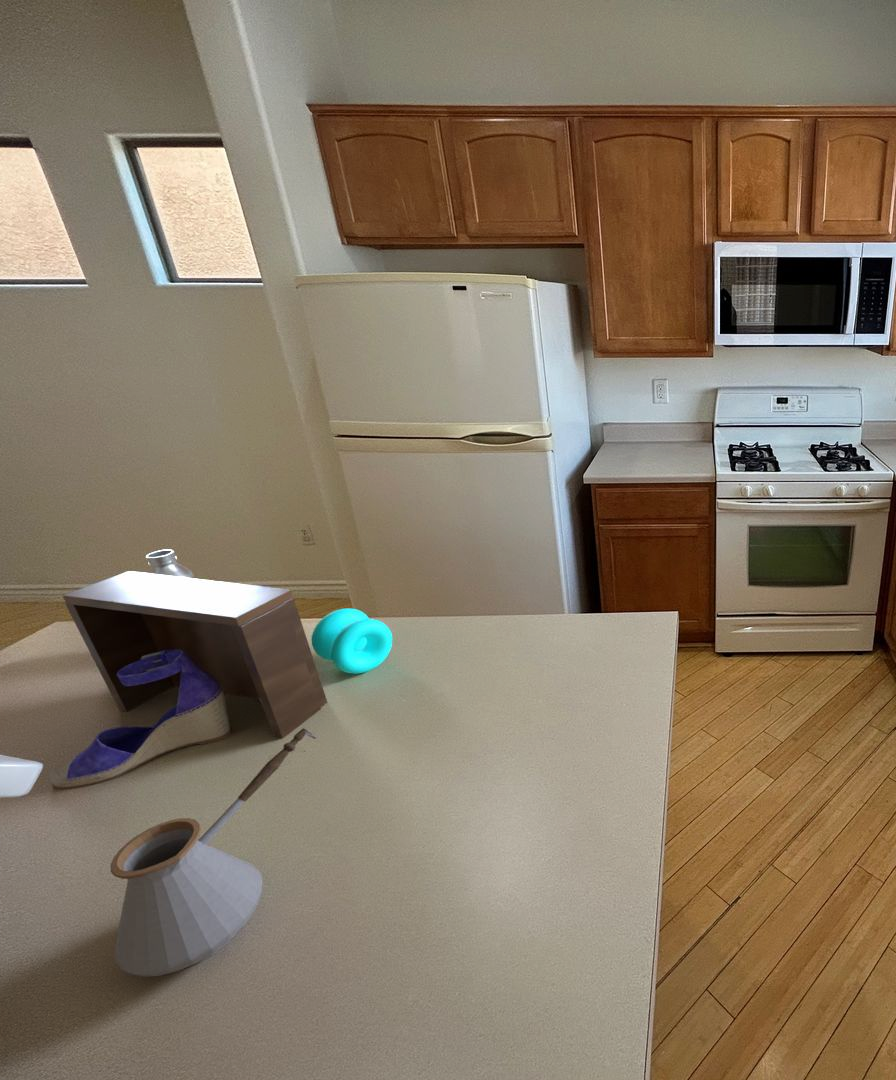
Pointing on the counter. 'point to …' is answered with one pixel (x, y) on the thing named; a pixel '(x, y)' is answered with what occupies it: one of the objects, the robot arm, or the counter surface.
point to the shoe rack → (202, 639)
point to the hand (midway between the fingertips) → (26, 767)
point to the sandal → (181, 726)
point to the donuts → (352, 640)
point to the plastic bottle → (167, 564)
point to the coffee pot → (185, 890)
